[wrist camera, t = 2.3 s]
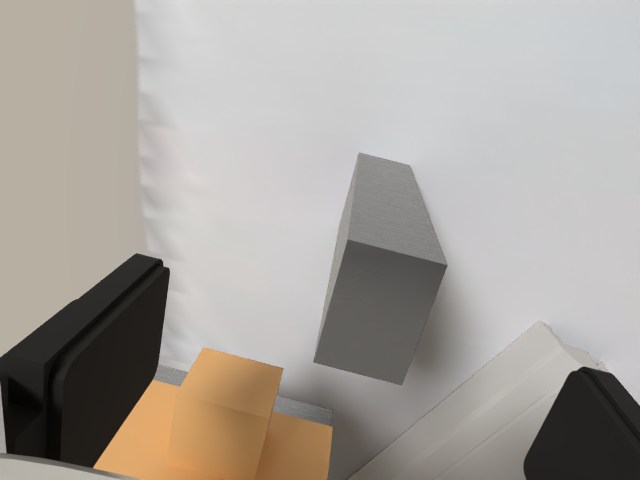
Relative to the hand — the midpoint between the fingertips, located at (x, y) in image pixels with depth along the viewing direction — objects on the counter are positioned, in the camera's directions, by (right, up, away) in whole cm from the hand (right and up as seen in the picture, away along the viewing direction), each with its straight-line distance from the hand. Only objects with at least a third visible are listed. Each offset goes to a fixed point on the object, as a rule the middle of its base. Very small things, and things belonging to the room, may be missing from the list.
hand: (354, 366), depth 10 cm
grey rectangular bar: (+2, +5, +11) cm, 12 cm away
